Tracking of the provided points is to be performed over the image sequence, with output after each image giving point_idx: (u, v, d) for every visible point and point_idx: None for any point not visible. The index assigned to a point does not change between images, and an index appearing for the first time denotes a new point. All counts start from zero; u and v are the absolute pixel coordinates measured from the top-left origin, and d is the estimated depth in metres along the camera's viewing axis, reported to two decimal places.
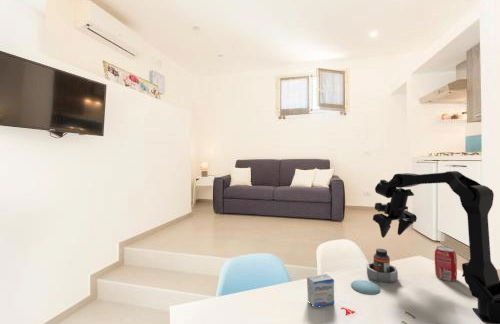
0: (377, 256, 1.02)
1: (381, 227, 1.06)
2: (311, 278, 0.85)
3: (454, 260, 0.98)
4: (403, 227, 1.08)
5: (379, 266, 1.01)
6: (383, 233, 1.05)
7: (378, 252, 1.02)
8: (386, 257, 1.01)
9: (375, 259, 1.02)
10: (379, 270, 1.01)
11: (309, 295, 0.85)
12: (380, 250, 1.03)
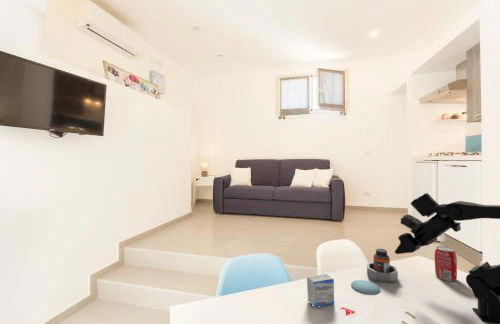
0: (377, 256, 1.02)
1: (401, 246, 0.91)
2: (311, 278, 0.85)
3: (454, 260, 0.98)
4: None
5: (379, 266, 1.01)
6: (400, 251, 0.92)
7: (378, 252, 1.02)
8: (386, 257, 1.01)
9: (375, 259, 1.02)
10: (379, 270, 1.01)
11: (309, 295, 0.85)
12: (380, 250, 1.03)
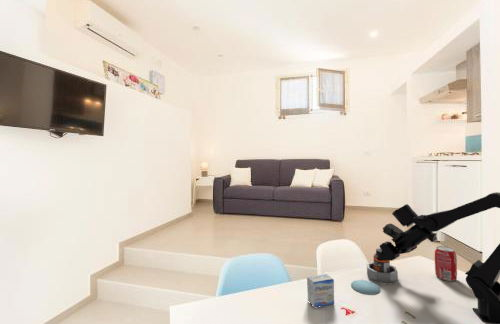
0: (377, 256, 1.02)
1: (382, 253, 0.97)
2: (311, 278, 0.85)
3: (454, 260, 0.98)
4: (399, 252, 1.02)
5: (379, 266, 1.01)
6: (381, 258, 0.97)
7: (378, 252, 1.02)
8: None
9: (375, 259, 1.02)
10: (379, 270, 1.01)
11: (309, 295, 0.85)
12: (380, 250, 1.03)
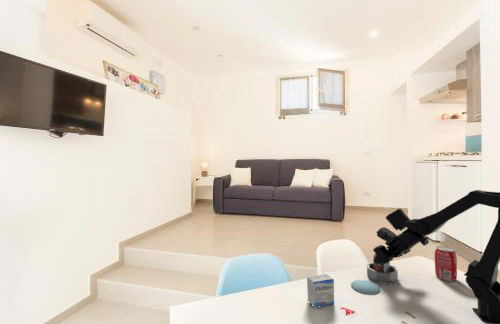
0: None
1: None
2: (311, 278, 0.85)
3: (454, 260, 0.98)
4: None
5: (379, 266, 1.01)
6: (377, 261, 1.00)
7: None
8: None
9: None
10: (379, 270, 1.01)
11: (309, 295, 0.85)
12: None
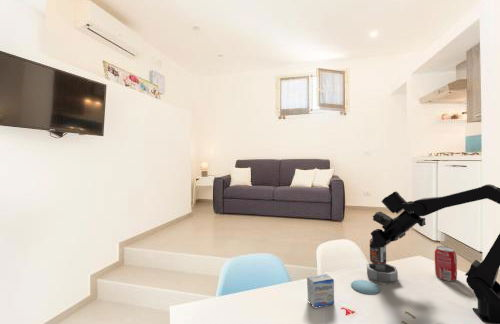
0: None
1: (375, 240, 0.98)
2: (311, 278, 0.85)
3: (454, 260, 0.98)
4: None
5: (376, 251, 0.99)
6: (374, 245, 0.99)
7: None
8: None
9: None
10: (375, 255, 1.00)
11: (309, 295, 0.85)
12: None
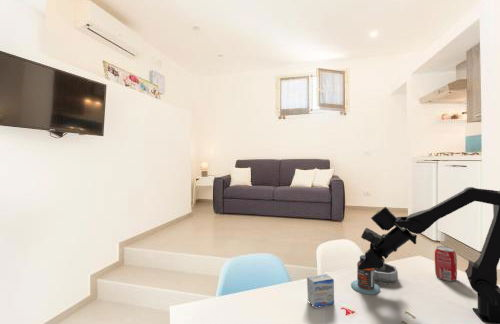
0: None
1: (366, 261, 0.90)
2: (311, 278, 0.85)
3: (454, 260, 0.98)
4: None
5: (366, 276, 0.92)
6: (364, 267, 0.91)
7: None
8: None
9: None
10: (365, 280, 0.92)
11: (309, 295, 0.85)
12: None
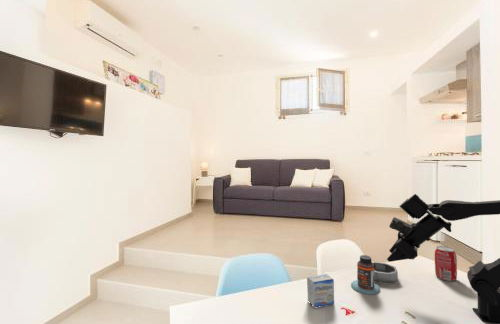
0: (363, 264, 0.93)
1: (396, 252, 0.84)
2: (311, 278, 0.85)
3: (454, 260, 0.98)
4: None
5: (366, 276, 0.92)
6: (394, 259, 0.85)
7: (364, 260, 0.93)
8: (372, 264, 0.93)
9: (361, 268, 0.93)
10: (365, 280, 0.92)
11: (309, 295, 0.85)
12: (365, 257, 0.94)
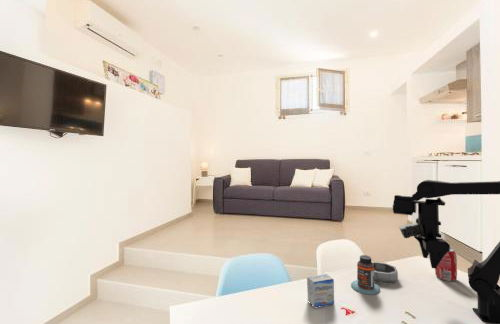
0: (363, 264, 0.93)
1: (432, 255, 0.80)
2: (311, 278, 0.85)
3: (454, 260, 0.98)
4: None
5: (366, 276, 0.92)
6: (436, 262, 0.80)
7: (364, 260, 0.93)
8: (372, 264, 0.93)
9: (361, 268, 0.93)
10: (365, 280, 0.92)
11: (309, 295, 0.85)
12: (365, 257, 0.94)
